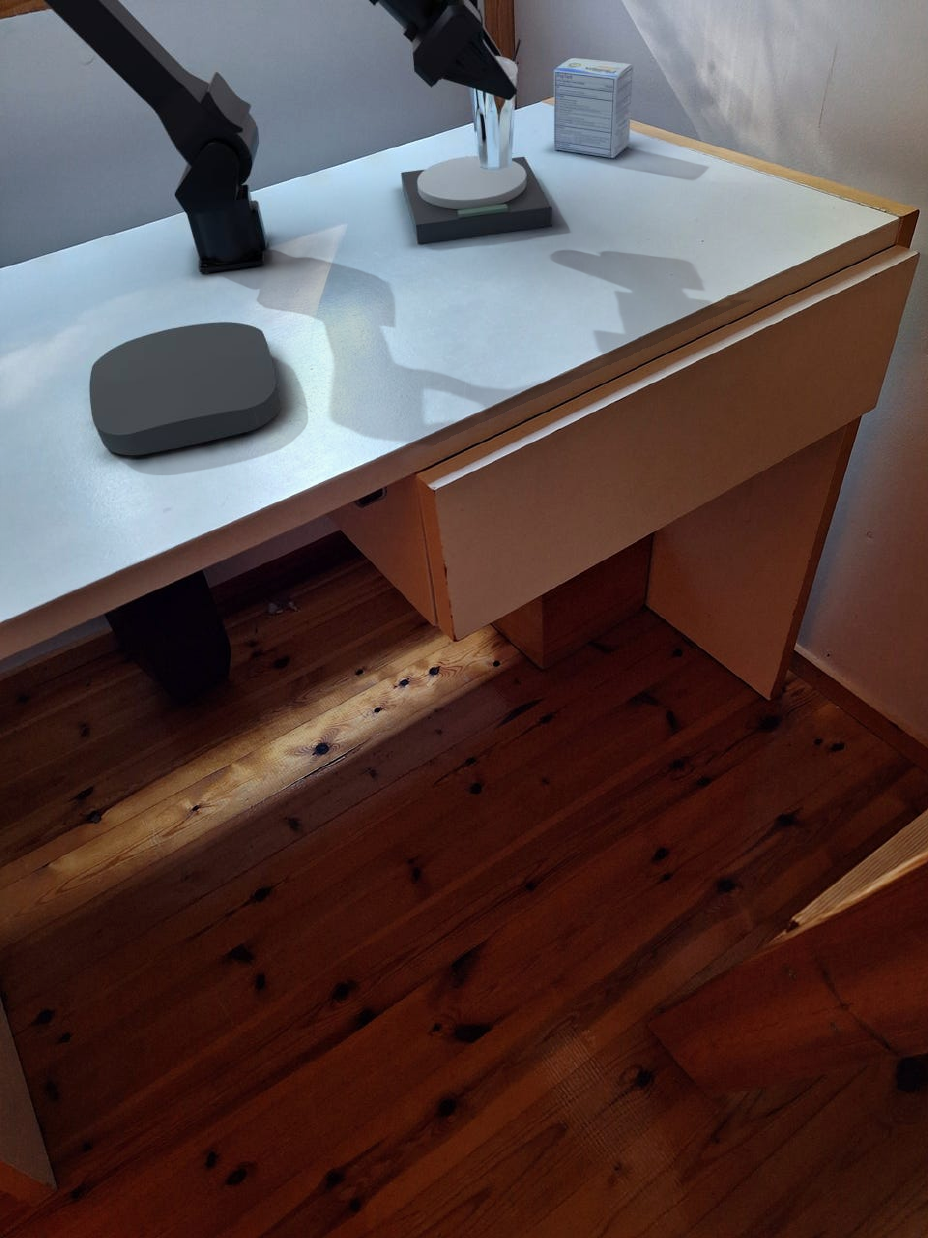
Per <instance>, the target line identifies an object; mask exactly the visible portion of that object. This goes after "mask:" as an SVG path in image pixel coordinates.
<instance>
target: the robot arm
mask: <svg viewBox="0 0 928 1238" xmlns="http://www.w3.org/2000/svg"><path fill="white" fill-rule="evenodd" d="M368 1H369V2H370V4H372V6H374V7H375V6H376V5H377V4H379V5H380V6H381V7H382V8H383V9H384V10H385V11H386V12H387V13H388V14H389V16H391V17H392V18H393V19H394V20H395V21H396V22H397V23H398V24H399V25H400V26H401V27H402V30H403V31H402V32H403V33H402V34H403V36H404V37H405V38H406V39H407V40H408V41H409V42H410V43H412V59H413V60H412V62H413V72H414V73H416V75H417V76H418V77H419V78H420V79H421V80H422V81H423V82H425V84H427V85H428V86H429V87H430V88H433V87H435V86H436V85H437V84H438V82H439V81H442V80H444V81H448V82H451V83H455V84H458V85H461V86H464V87H468V88H469V87H470V88H473V89H477V90H480V91H483V92H485V93H488V94H491V95H494V96H497V97H500V98H503V99H506V100H511V99H512V98H513V97H514V95H515V94H516V95H517V92H518V88H517V86H516V87H515V85H514V84H513V82H512V81H511V79H510V78H509V76H508V75H507V73H506V72H505V70H504V69H503V67H502V66H501V64H500V63H499V61H498V60H497V59H496V57H495V56H500V57H504V56H503V55H502V53H501V51H500V50H499V48H498V47H497V44H496V43H495V41H494V40H493V38H492V37H491V35H490V34H489V32H488V30H487V29H486V27H485V25H484V16H483V12H482V9H481V8H479V2H478V0H368ZM42 2H43V3H45V5H47V7H49V8H50V9H51V10H52V12H54V14H56V15H57V16H58V17H59V18H60V19H61V20H62V21H63V22H64V23H65V24H66V25H67V26H68V28H70V29H71V30H72V31H73V32H74V33H75V34H76V35H77V36H78V37H79V38H80V39H81V40H82V41H83V42H84V43H85V44H86V45H87V46H88V47H89V48H91V50H92V51H93V52H94V53H95V54H97V56H98V57H99V58H100V59H101V60H102V61H104V63H105V64H107V65H108V66H109V67H110V69H112V71H114V72H115V73H116V74H117V75H118V76H119V77H120V79H122V80H123V81H124V82H125V83H126V84H127V85H128V86H129V87H130V89H132V90H133V91H134V92H135V93H136V94H137V95H138V96H139V97H140V98H141V99H142V100H143V101H144V102H145V103H146V104H147V105H148V106H149V107H150V108H151V109H152V110H153V111H154V113H155V114H156V115H157V117H158V119H159V120H160V122H161V125H162V126H163V128H164V129H165V131H166V133H167V135H168V137H169V139H170V140H171V142H172V144H173V147H174V148H175V149H176V151H177V152H178V153H179V154H180V156H181V157H182V158H183V160H184V161H185V162H186V164H185V167H184V170H183V172H182V175H181V177H180V180H179V182H178V184H177V187H176V189H175V191H174V198H175V199H176V201H177V202H178V204H179V205H180V207H181V208H182V210H183V211H184V213H185V214H186V217H187V220H188V221H187V222H188V225H189V228H190V231H191V234H192V238H193V241H194V245H195V249H196V252H197V256H198V265H197V267H198V268H197V269H198V272H199V273H202V274H204V273H211V272H219V271H227V270H233V269H234V270H235V269H241V268H242V269H243V268H248V267H256V266H261V265H263V264H264V263H265V262H264V260H265V258H264V257H265V256H264V254H265V253H264V252H266V251H267V249H268V239H267V235H266V230H265V226H264V221H263V216H262V213H261V208H260V203H259V201H258V200H256V199H255V200H254V199H253V198H252V195H251V189H250V186H249V184H245V183H247V180H248V179H249V177H250V176H251V174H252V170H253V166H254V163H255V160H256V157H257V153H258V149H259V145H260V134H259V133H260V132H259V127H258V125H257V122H256V120H255V119H254V117H253V116H252V115H251V114H250V111H251V108H252V105H251V103H249V102H247V101H245V100H243V99H241V98H240V97H239V96H238V95H237V94H236V92H234V91H233V90H232V88H231V87H230V85H229V83H228V82H227V81H226V80H225V78H224V77H223V76H222V75H221V74H220V73H219V72H217V71H216V72H214V74H213V75H212V77H211V79H210V81H209V82H207V81H205V80H203V79H201V78H200V77H198V76H196V75H194V74H192V73H191V72H189V71H188V70H187V69H185V68H184V67H183V66H182V65H181V64H180V63H179V61H177V60H176V59H175V58H174V56H172V55H171V54H170V52H169V51H168V50H167V49H165V47H164V46H163V45H162V44H161V43H160V42H159V41H158V40H157V39H156V38H155V37H154V36H153V35H152V34H151V33H150V32H149V31H148V29H146V28H145V26H144V25H143V24H142V23H141V22H140V21H139V20H138V19H137V18H136V17H135V16H134V15H133V14H132V13H131V12H130V11H129V10H128V9H127V7H125V5H123V3H122V2H120V1H119V0H42ZM470 88H469V89H470Z"/></svg>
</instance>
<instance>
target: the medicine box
mask: <svg viewBox="0 0 928 1238" xmlns="http://www.w3.org/2000/svg"><path fill="white" fill-rule="evenodd" d="M633 69H634V66H633V65H632V63H623V62H615V61H607V60H596V59H588V58H578V57H577V58H576V57H572V58H570V59H568V60H566V61H565V62H563V63H561V64H559V65H558V66H557V67H556V68H554V70H553V149H554V150H559V151H564V152H572V153H577V154H578V153H579V154H584V155H590V156H591V155H592V156H597V157H602V158H603V157H604V158H611V159H614V158H615V157H616V156H618V155H619V154H620V153H621V152H623V151H624V149H626V148H627V147H628V146H629V145H630V134H631V133H630V132H631V131H630V130H631V115H632V114H631V112H632V111H631V110H632V92H633V91H632V90H633V75H634V70H633Z"/></svg>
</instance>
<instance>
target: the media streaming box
mask: <svg viewBox="0 0 928 1238" xmlns="http://www.w3.org/2000/svg"><path fill="white" fill-rule="evenodd" d="M88 386H89V404H90V413H91V419H92V422H93V425H94V426H95V429H96V432H97V434H98V436H99V438H100V440H101V442H102V444H103V446H104V447H105V448H106V449H107V450H109V451H111V452H113V453H115V454H119V455H123V456H124V455H125V456H142V455H148V454H154V453H158V452H162V451H168V450H169V451H170V450H173V449H179V448H183V447H187V446H192V445H197V444H202V443H206V442H210V441H214V440H219V439H223V438H227V437H231V436H235V435H239V434H243V433H247V432H251V431H254V430H257V429H259V428H261V427H262V426H265V424H267V423H269V422H270V421H271V420H273V418H275V417H276V415H277V414H278V413H279V412H280V410H281V407H282V398H281V393H280V387H279V384H278V379H277V375H276V371H275V367H274V363H273V359H272V356H271V352H270V348H269V344H268V341H267V339H266V336H265V335H264V332H263V331H262V330H261V329H260V328H258V327H256V326H254V325H250V324H246V323H240V322H231V321H219V322H205V323H197V324H188V325H184V326H177V327H173V328H169V329H168V328H167V329H164V330H159V331H156V332H153V333H148V334H144V335H142V336H139V337H137V338H133V339H131V340H128V341H125V342H123V343H121V344H119V345H117V346H115V347H113V348H112V349H110V350H109V351H107V352H105V353H104V354H103V355H101V356H100V357H99V358H98V359H97V360H96V361H95V362H94V363H93V364H92V365H91V369H90V375H89V385H88Z"/></svg>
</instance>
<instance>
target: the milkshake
mask: <svg viewBox="0 0 928 1238" xmlns="http://www.w3.org/2000/svg"><path fill="white" fill-rule="evenodd" d="M521 45H522V39H521V38H518V40H517V44H516V47H515V51H514V55H513V57H512V60H511V59H510V58H507V57H504V56H503V57H500V56H495V57H496V59H497V60H498V61H499V63H500V64H501V66H502V67H503V69H504V70H505V72H506V73H507V75H508V76H509V78H510V79H511V81H512V82H513V84H514V85H515V87H516V88H517V82H518V71H519V69H518V65H517V64H516V62H517V58H518V56H519V52H520V51H519V50H520V48H521ZM468 88H469V95H470V103H471V110H472V119H473V120H472V121H473V131H474V139H475V150H476V156H477V160H478V164H479V166H480V167H481V168H484V169H488V170H499V169H502V168H506V167H508V166H509V165H510V164H511V163H512V158H513V149H514V148H513V147H514V130H515V129H514V128H515V111H516V96H517V93H516V94H515V95H514V97H513V98H512V99H511V100H506V99H503V98H500V97H497V96H494V95H491V94H488V93H485V92H483V91H480V90H477V89H473V88H470V87H468Z"/></svg>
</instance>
